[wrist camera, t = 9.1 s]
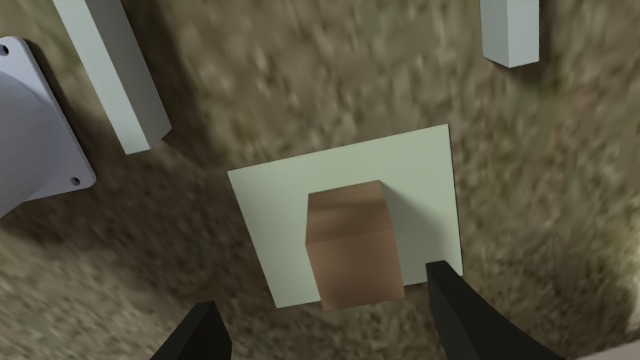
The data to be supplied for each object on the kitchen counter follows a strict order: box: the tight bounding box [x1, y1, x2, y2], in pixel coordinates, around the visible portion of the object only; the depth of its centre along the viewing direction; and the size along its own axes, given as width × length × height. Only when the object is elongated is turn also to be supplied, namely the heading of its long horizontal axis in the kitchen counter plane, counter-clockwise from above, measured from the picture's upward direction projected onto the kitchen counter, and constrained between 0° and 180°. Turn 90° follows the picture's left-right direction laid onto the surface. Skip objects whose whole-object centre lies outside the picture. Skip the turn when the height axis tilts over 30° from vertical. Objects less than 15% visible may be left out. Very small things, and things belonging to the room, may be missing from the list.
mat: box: [227, 124, 463, 308], centre depth 24 cm, size 12×10×1 cm
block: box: [305, 180, 405, 311], centre depth 21 cm, size 4×4×5 cm
